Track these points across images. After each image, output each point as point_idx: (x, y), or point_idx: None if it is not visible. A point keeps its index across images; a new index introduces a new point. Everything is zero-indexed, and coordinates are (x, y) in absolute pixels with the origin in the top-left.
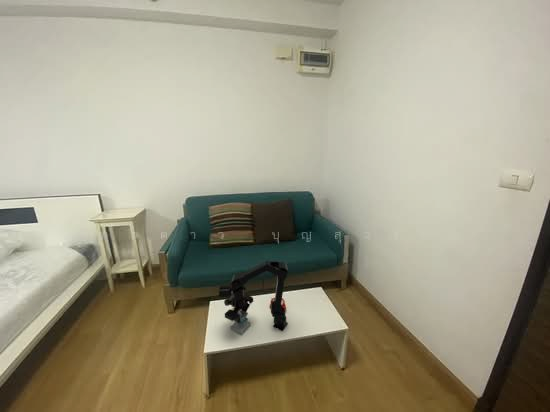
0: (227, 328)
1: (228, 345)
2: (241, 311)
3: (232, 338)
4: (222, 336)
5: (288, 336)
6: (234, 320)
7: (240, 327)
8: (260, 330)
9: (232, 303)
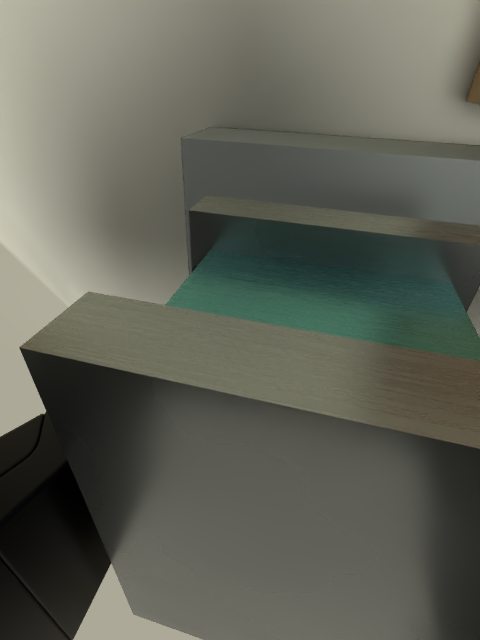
0: (198, 22)
1: (33, 260)
2: (390, 621)
3: (117, 249)
4: (39, 80)
5: None
6: (194, 262)
7: None
8: None
9: None
